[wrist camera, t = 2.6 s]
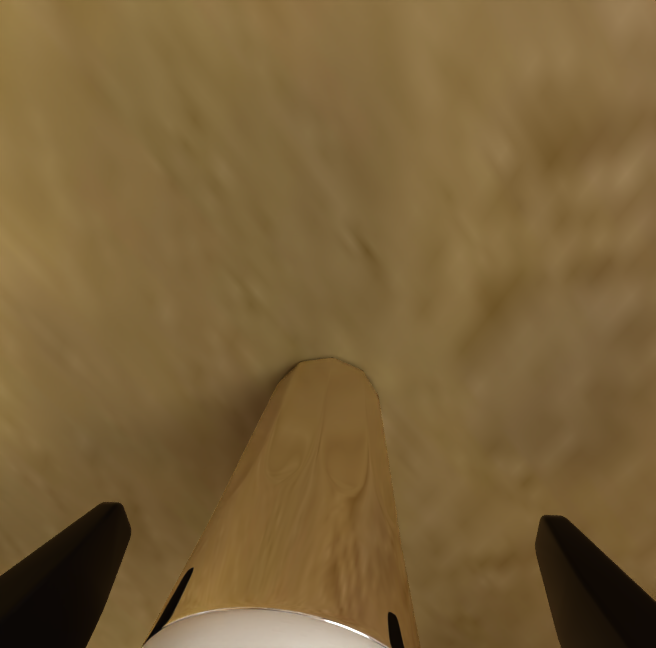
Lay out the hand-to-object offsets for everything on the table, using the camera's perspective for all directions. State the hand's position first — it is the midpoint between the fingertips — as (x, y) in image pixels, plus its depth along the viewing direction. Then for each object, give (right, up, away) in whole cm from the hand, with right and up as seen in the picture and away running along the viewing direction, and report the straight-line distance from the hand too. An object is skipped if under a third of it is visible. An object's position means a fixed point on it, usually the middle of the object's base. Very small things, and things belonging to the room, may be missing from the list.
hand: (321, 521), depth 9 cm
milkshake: (0, +2, +4) cm, 5 cm away
